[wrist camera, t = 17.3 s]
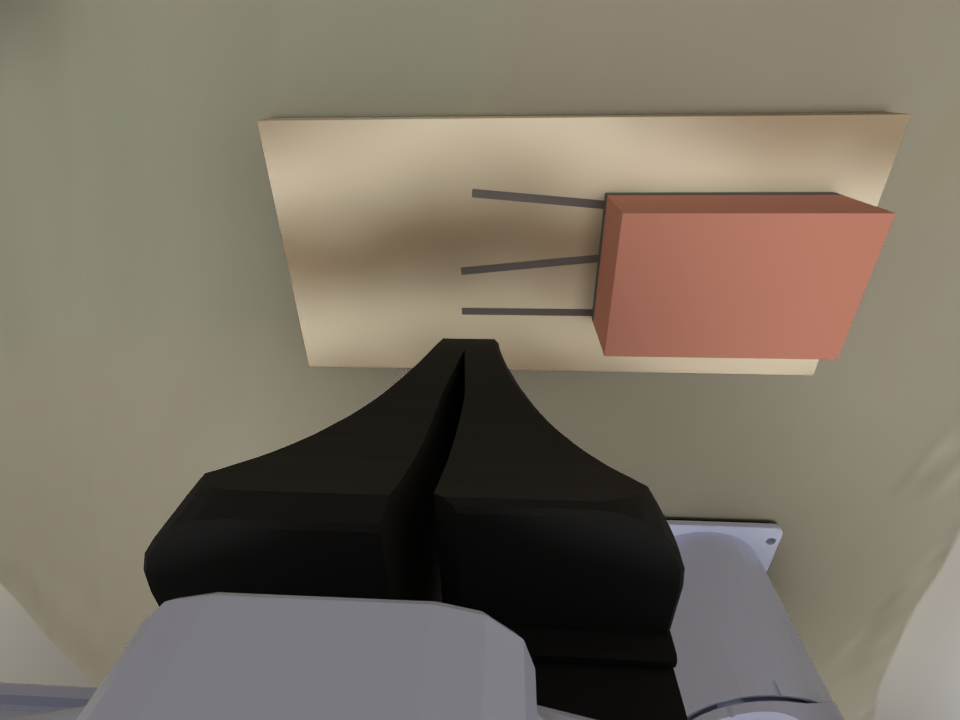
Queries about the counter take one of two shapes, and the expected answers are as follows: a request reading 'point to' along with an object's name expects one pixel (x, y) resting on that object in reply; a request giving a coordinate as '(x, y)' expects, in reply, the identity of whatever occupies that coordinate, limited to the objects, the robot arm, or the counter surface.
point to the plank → (519, 220)
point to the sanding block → (733, 273)
